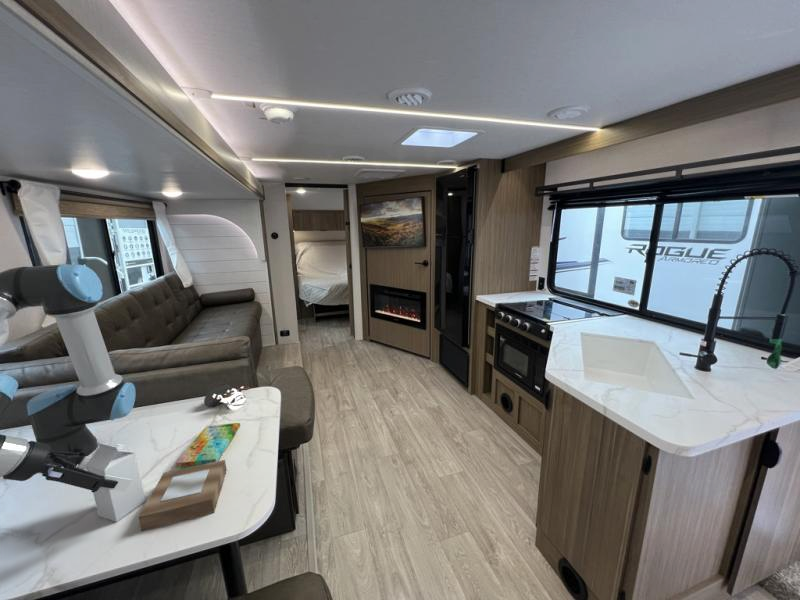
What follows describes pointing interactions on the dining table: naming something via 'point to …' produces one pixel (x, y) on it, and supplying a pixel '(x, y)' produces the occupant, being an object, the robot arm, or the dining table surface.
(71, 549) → the dining table surface
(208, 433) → the puzzle game
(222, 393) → the figurine
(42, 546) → the dining table surface
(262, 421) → the dining table surface
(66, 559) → the dining table surface
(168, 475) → the walnut riser
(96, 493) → the milk carton
